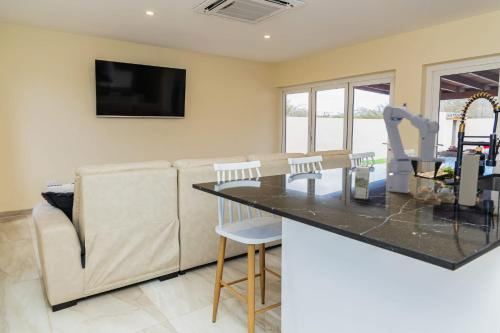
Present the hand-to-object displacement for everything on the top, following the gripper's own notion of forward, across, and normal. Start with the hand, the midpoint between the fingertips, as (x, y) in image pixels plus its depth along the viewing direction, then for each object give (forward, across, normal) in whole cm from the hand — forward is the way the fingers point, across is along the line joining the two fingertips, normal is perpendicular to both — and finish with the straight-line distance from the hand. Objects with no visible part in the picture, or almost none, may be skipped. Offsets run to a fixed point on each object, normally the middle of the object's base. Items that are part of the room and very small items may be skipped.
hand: (425, 177), depth 157 cm
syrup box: (+10, -24, -18) cm, 31 cm away
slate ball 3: (+6, +8, +4) cm, 11 cm away
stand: (+9, +4, -9) cm, 14 cm away
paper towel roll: (+10, +17, -4) cm, 20 cm away
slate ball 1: (+6, 0, +4) cm, 8 cm away
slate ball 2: (+6, +8, -1) cm, 10 cm away
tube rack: (+9, +4, +2) cm, 10 cm away
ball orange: (+6, 0, -1) cm, 6 cm away
